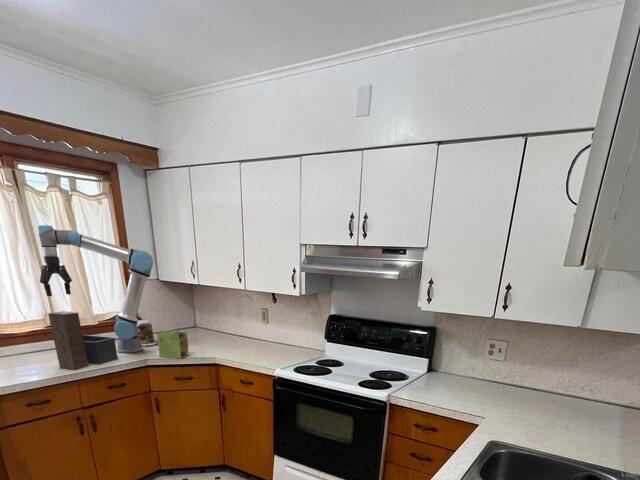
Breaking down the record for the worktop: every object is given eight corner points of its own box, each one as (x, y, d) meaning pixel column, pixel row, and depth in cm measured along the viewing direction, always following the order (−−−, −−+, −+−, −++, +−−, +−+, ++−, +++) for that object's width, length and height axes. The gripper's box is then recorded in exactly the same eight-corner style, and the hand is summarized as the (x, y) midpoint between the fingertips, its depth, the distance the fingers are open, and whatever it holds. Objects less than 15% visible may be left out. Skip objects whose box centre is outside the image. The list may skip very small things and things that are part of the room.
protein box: (181, 358, 267) (178, 333, 261) (159, 356, 270) (156, 332, 264) (189, 355, 277) (187, 331, 271) (167, 353, 280) (165, 329, 274)
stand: (60, 368, 238) (47, 313, 226) (74, 364, 247) (63, 311, 235) (74, 370, 236) (63, 314, 224) (88, 365, 245) (78, 312, 233)
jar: (140, 340, 317) (137, 319, 311) (156, 340, 317) (153, 320, 311) (134, 343, 306) (131, 322, 300) (150, 343, 306) (147, 322, 300)
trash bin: (65, 361, 254) (61, 339, 248) (85, 355, 267) (81, 334, 262) (99, 364, 248) (95, 342, 243) (117, 358, 262) (114, 337, 257)
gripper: (63, 255, 251) (70, 293, 260) (26, 255, 229) (35, 296, 238) (74, 256, 250) (81, 293, 258) (37, 256, 228) (46, 297, 236)
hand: (59, 295), depth 248 cm, fingers open, 13 cm apart
